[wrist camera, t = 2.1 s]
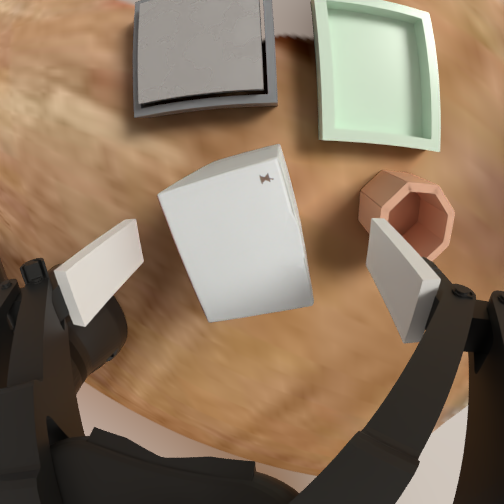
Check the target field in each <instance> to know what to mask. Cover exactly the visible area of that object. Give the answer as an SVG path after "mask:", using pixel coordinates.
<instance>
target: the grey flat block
mask: <svg viewBox="0 0 504 504" xmlns="http://www.w3.org/2000/svg"><path fill="white" fill-rule="evenodd" d="M148 1H151V0H141V1H138V2H135V15H134V34H133V100H134V118H152V117H157V116H164V115H170V114H177V113H185V112H193V111H201V110H211V109H223V108H237V107H257V106H278V100H277V76H276V56H275V38H274V23H273V9H272V0H263V6H264V22H265V40H266V60H267V82H268V94H260V95H240V96H226V97H215V98H205V99H196V100H188V101H181V102H175V103H168V104H162V105H156V106H155V102H154V103H149V104H139V102H138V29H139V10H140V4H141V3H144V2H148Z"/></svg>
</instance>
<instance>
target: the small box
mask: <svg viewBox="0 0 504 504" xmlns="http://www.w3.org/2000/svg"><path fill="white" fill-rule="evenodd" d="M157 197H158V200H159V203H160V206H161V208H162V211H163V214H164V216H165V219H166V222H167V224H168V227H169V230H170V232H171V235H172V237H173V240H174V242H175V245H176V248H177V250H178V252H179V255H180V257H181V260H182V262H183V265H184V267H185V270H186V272H187V274H188V277H189V279H190V282H191V284H192V286H193V288H194V291H195V293H196V295H197V298H198V300H199V302H200V304H201V307H202V309H203V311H204V313H205V316H206V318H207V320H208V322H217V321H224V320H230V319H237V318H243V317H249V316H255V315H261V314H267V313H273V312H279V311H285V310H291V309H296V308H302V307H308V306H312V305H313V303H314V298H313V292H312V285H311V279H310V273H309V267H308V261H307V255H306V249H305V243H304V238H303V233H302V227H301V222H300V217H299V212H298V208H297V204H296V200H295V196H294V192H293V188H292V184H291V180H290V176H289V173H288V169H287V166H286V162H285V159H284V155H283V152H282V149H281V146H280V144H276V145H272V146H268V147H264V148H260V149H256V150H252V151H249V152H245V153H241V154H238V155H234V156H231V157H227V158H224V159H220V160H217V161H214V162H212V163H210V164H208V165H206V166H204V167H202V168H200V169H199V170H197V171H195V172H193V173H192V174H190V175H188V176H186V177H184V178H183V179H181V180H179V181H178V182H176V183H174V184H173V185H171V186H169V187H168V188H166V189H165V190H163V191H162V192H160V193H159V194H158V195H157Z"/></svg>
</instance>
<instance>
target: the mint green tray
mask: <svg viewBox="0 0 504 504" xmlns="http://www.w3.org/2000/svg"><path fill="white" fill-rule="evenodd" d="M311 11H312V21H313V32H314V44H315V58H316V75H317V96H318V137H319V140H330V141H349V142H362V143H374V144H384V145H394V146H402V147H410V148H417V149H424V150H430V151H437V152H440V129H441V119H440V90H439V76H438V65H437V57H436V49H435V42H434V36H433V30H432V24H431V19H430V14H429V13H428V12H424V11H421V10H418V9H415V8H411V7H408V6H404V5H400V4H396V3H392V2H388V1H383V0H311Z"/></svg>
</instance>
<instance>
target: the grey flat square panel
mask: <svg viewBox="0 0 504 504" xmlns="http://www.w3.org/2000/svg"><path fill="white" fill-rule="evenodd" d="M247 91H264V80H263V58H262V38H261V19H260V3H259V0H151V1H148V2H144V3H141V4H140V10H139V29H138V102H139V104H149V103H154V102H160V101H166V100H172V99H178V98H185V97H192V96H200V95H209V94H219V93H231V92H247Z"/></svg>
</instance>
